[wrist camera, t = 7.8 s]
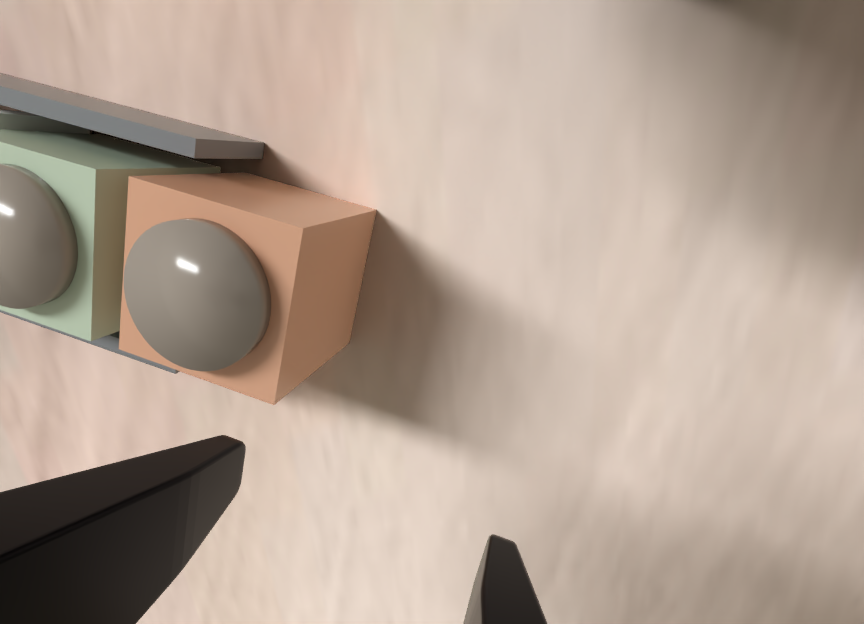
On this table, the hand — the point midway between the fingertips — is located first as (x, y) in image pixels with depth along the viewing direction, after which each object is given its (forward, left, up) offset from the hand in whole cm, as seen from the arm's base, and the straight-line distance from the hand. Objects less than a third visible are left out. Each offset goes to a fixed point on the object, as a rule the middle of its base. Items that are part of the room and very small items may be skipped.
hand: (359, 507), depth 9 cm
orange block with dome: (+7, 0, -12) cm, 14 cm away
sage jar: (+14, 0, -12) cm, 19 cm away
